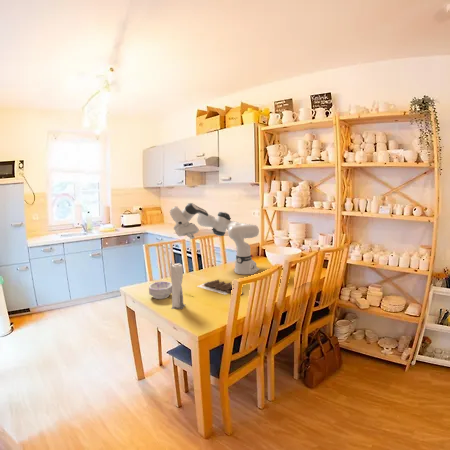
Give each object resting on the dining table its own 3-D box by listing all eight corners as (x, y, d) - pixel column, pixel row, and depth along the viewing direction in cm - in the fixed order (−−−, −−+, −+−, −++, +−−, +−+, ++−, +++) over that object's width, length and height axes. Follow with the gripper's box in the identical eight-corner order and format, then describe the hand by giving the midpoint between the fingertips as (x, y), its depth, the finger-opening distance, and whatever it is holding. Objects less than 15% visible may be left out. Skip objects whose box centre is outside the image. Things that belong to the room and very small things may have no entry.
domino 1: (203, 283, 222) (213, 281, 216) (208, 281, 226) (218, 279, 219) (204, 286, 222) (214, 284, 215) (209, 284, 226) (219, 282, 219)
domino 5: (226, 289, 209) (239, 294, 203) (231, 287, 213) (243, 292, 207) (226, 292, 209) (238, 297, 203) (231, 290, 213) (243, 295, 207)
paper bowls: (149, 302, 197) (149, 290, 196) (148, 293, 211) (148, 282, 210) (174, 299, 201) (173, 287, 200) (171, 291, 215) (171, 280, 214)
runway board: (207, 283, 231) (207, 281, 231) (236, 290, 215) (236, 289, 215) (196, 287, 222) (196, 286, 222) (225, 296, 206) (225, 294, 206)
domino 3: (215, 287, 215) (225, 284, 209) (219, 285, 219) (230, 282, 213) (215, 289, 215) (226, 287, 209) (220, 287, 219) (231, 285, 213)
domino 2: (209, 285, 219) (219, 283, 212) (213, 283, 223) (224, 281, 216) (209, 287, 219) (220, 285, 212) (214, 285, 223) (224, 283, 216)
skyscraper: (168, 308, 188) (167, 263, 183) (173, 303, 195) (171, 259, 191) (182, 309, 186) (181, 263, 182) (186, 304, 194) (185, 260, 190)
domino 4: (220, 288, 212) (231, 285, 206) (225, 286, 216) (236, 283, 210) (221, 291, 212) (232, 288, 206) (226, 289, 216) (236, 286, 210)
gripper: (190, 225, 252) (200, 238, 248) (171, 228, 237) (181, 243, 232) (194, 220, 249) (204, 233, 244) (175, 223, 233) (185, 237, 229)
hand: (192, 238), depth 238 cm, fingers closed
